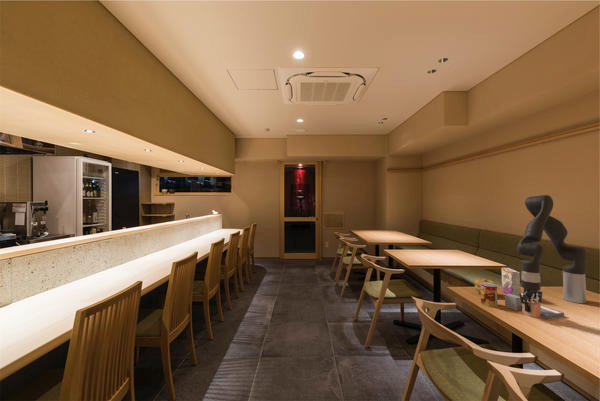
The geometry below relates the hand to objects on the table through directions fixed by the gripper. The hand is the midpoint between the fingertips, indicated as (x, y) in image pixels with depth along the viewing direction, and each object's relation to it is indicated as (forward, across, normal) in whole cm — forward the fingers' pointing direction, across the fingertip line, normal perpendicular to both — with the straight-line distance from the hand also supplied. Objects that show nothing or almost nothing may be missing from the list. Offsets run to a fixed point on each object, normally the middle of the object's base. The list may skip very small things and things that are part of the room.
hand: (531, 311), depth 132 cm
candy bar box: (+2, -20, -24) cm, 32 cm away
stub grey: (+2, 0, -9) cm, 9 cm away
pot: (+2, -6, -30) cm, 31 cm away
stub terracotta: (+2, 0, 0) cm, 2 cm away
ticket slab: (+2, -8, -4) cm, 9 cm away
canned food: (+2, +8, -17) cm, 19 cm away
